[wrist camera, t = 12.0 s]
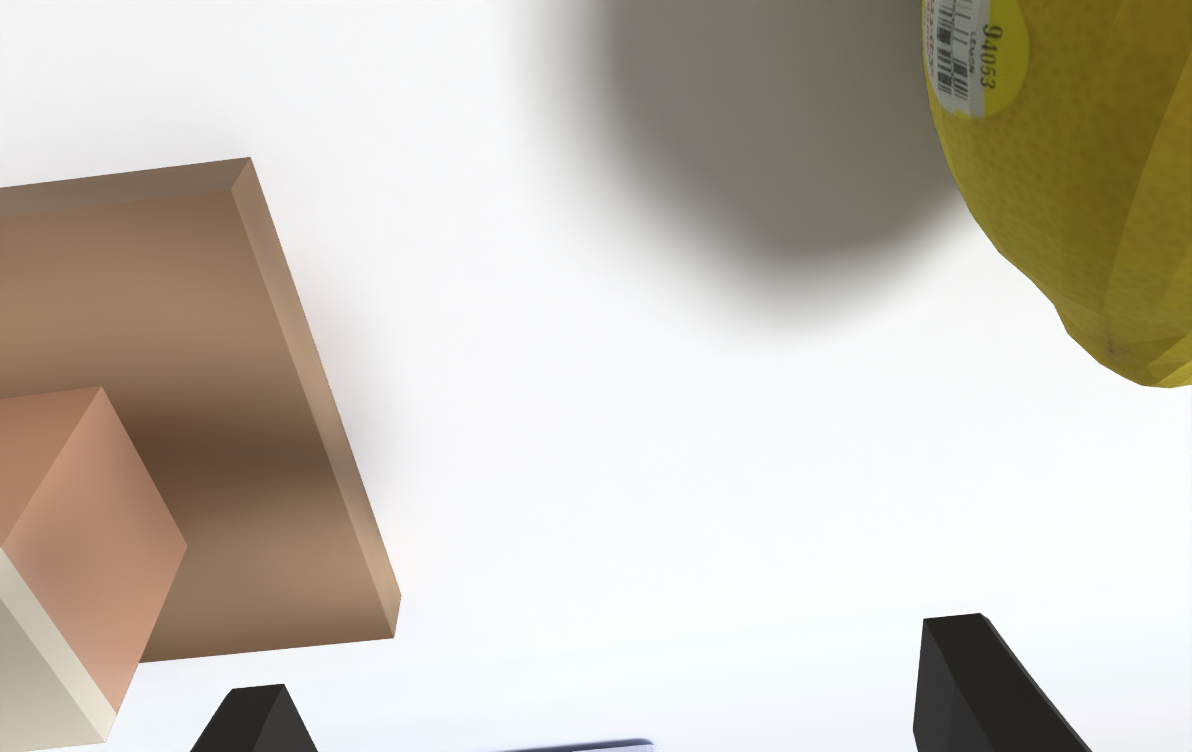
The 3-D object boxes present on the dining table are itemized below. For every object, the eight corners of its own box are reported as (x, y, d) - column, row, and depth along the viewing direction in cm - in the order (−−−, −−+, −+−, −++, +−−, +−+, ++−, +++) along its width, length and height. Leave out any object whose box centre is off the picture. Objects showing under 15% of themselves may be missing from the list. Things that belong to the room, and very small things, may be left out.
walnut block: (404, 576, 26) (393, 638, 25) (-40, 621, 27) (-79, 684, 25) (259, 142, 19) (230, 189, 18) (-340, 217, 20) (-420, 268, 18)
